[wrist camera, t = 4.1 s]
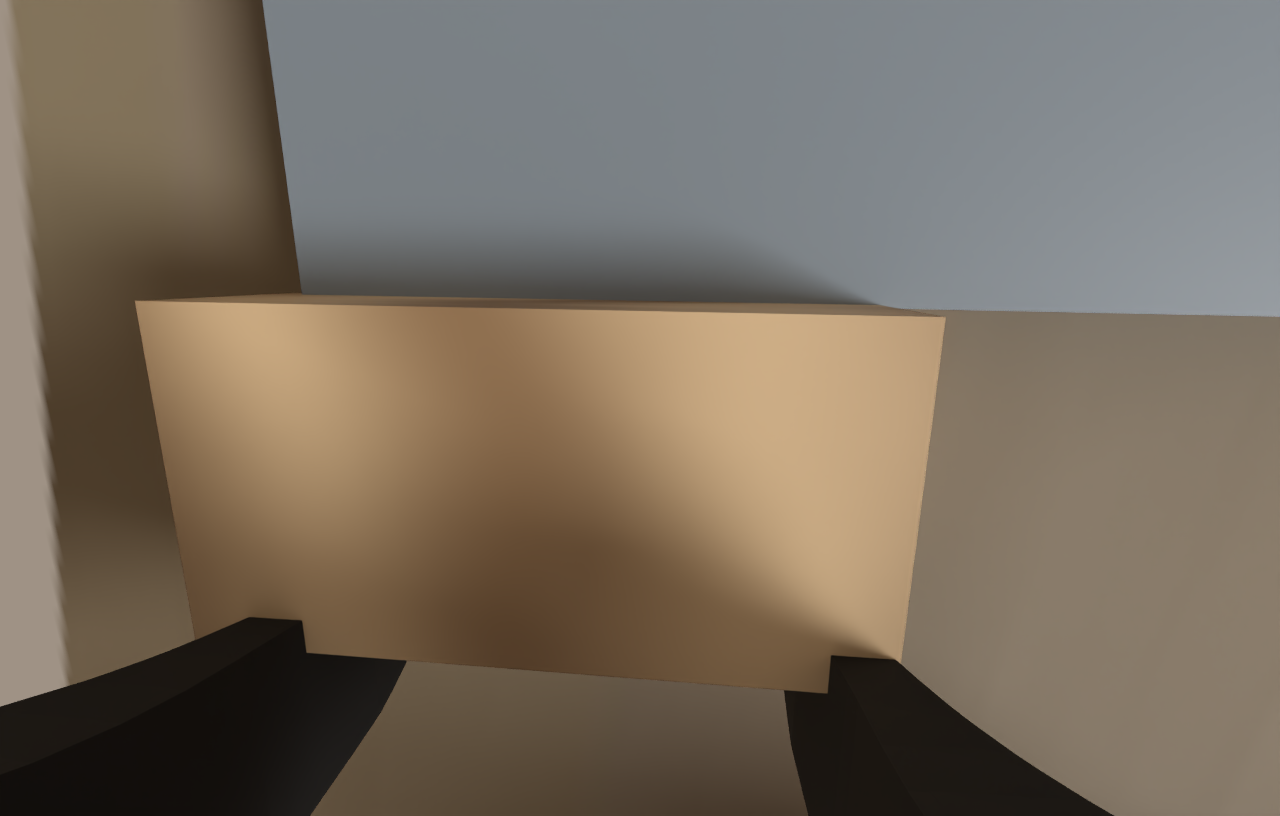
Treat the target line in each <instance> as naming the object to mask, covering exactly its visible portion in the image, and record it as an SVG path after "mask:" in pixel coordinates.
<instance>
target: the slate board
mask: <svg viewBox="0 0 1280 816" xmlns="http://www.w3.org/2000/svg"><path fill="white" fill-rule="evenodd" d="M262 1H263V9H264V16H265V24H266V31H267V39H268V46H269V53H270V61H271V68H272V76H273V83H274V90H275V98H276V105H277V113H278V120H279V128H280V135H281V142H282V150H283V157H284V165H285V172H286V180H287V187H288V194H289V202H290V209H291V217H292V224H293V231H294V239H295V246H296V254H297V261H298V269H299V276H300V283H301V291H302V295H351V296H406V297H461V298H516V299H571V300H626V301H681V302H736V303H790V304H845V305H882V306H888V307H893V308H899V309H938V310H987V311H1035V312H1084V313H1132V314H1181V315H1229V316H1278V317H1280V0H262Z"/></svg>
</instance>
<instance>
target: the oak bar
mask: <svg viewBox="0 0 1280 816" xmlns="http://www.w3.org/2000/svg"><path fill="white" fill-rule="evenodd" d="M135 304H136V310H137V316H138V321H139V327H140V332H141V338H142V344H143V349H144V355H145V360H146V366H147V372H148V377H149V383H150V388H151V394H152V400H153V405H154V411H155V416H156V422H157V427H158V433H159V439H160V444H161V450H162V455H163V461H164V467H165V472H166V478H167V483H168V489H169V495H170V500H171V506H172V511H173V517H174V522H175V528H176V534H177V539H178V545H179V550H180V556H181V562H182V567H183V573H184V578H185V584H186V590H187V595H188V601H189V606H190V612H191V617H192V623H193V629H194V634H195V640H197V639H199V638H201V637H204V636H206V635H208V634H211V633H213V632H215V631H218V630H220V629H222V628H225V627H227V626H229V625H232V624H234V623H236V622H239V621H241V620H243V619H246V618H248V617H258V618H273V619H289V620H302V623H303V630H304V637H305V644H306V652H307V653H317V654H330V655H342V656H355V657H368V658H381V659H393V660H406V661H419V662H432V663H444V664H457V665H470V666H483V667H495V668H508V669H521V670H534V671H546V672H559V673H572V674H585V675H598V676H610V677H623V678H636V679H649V680H661V681H674V682H687V683H700V684H712V685H725V686H738V687H751V688H763V689H776V690H789V691H802V692H814V693H827V694H828V682H829V671H830V660H831V655H835V656H850V657H865V658H880V659H895V660H897V661H898V662H899V663H900V664H901V658H902V650H903V643H904V635H905V627H906V620H907V612H908V604H909V596H910V589H911V581H912V573H913V566H914V558H915V550H916V543H917V535H918V527H919V520H920V512H921V504H922V497H923V489H924V481H925V473H926V466H927V458H928V450H929V443H930V435H931V427H932V420H933V412H934V404H935V397H936V389H937V381H938V374H939V366H940V358H941V350H942V343H943V335H944V327H945V320H946V317H942V316H937V315H931V314H926V313H920V312H915V311H910V310H904V309H899V308H893V307H888V306H882V305H845V304H790V303H736V302H681V301H626V300H571V299H516V298H461V297H406V296H351V295H302V292H301V293H281V294H262V295H242V296H223V297H203V298H183V299H164V300H144V301H135Z"/></svg>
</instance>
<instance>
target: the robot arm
mask: <svg viewBox="0 0 1280 816" xmlns="http://www.w3.org/2000/svg"><path fill="white" fill-rule="evenodd" d="M405 664H406V660H393V659H381V658H368V657H355V656H342V655H330V654H317V653H307V652H306V644H305V637H304V630H303V623H302V620H289V619H273V618H258V617H248V618H246V619H243V620H241V621H239V622H236V623H234V624H232V625H229V626H227V627H225V628H222V629H220V630H218V631H215V632H213V633H211V634H208V635H206V636H204V637H201V638H199V639H197V640H194V641H192V642H190V643H187V644H185V645H182V646H180V647H177V648H175V649H172V650H170V651H167V652H165V653H162V654H159V655H157V656H154V657H152V658H149V659H146V660H144V661H141V662H138V663H135V664H132V665H130V666H127V667H124V668H121V669H118V670H115V671H113V672H110V673H107V674H104V675H101V676H98V677H95V678H92V679H89V680H86V681H83V682H80V683H77V684H73V685H70V686H67V687H64V688H60V689H57V690H54V691H51V692H47V693H44V694H41V695H37V696H34V697H31V698H27V699H24V700H21V701H17V702H14V703H11V704H8V705H4V706H1V707H0V816H310V815H311V813H312V812H313V811H314V809H315V808H316V806H317V805H318V803H319V802H320V800H321V799H322V798H323V796H324V795H325V793H326V792H327V790H328V789H329V787H330V786H331V785H332V783H333V782H334V780H335V779H336V777H337V776H338V774H339V773H340V772H341V770H342V769H343V767H344V766H345V764H346V763H347V761H348V760H349V759H350V757H351V756H352V754H353V753H354V751H355V750H356V748H357V747H358V745H359V744H360V743H361V741H362V740H363V738H364V737H365V735H366V734H367V732H368V731H369V729H370V728H371V726H372V725H373V723H374V722H375V720H376V719H377V717H378V716H379V714H380V713H381V711H382V709H383V707H384V705H385V703H386V702H387V700H388V698H389V696H390V694H391V692H392V690H393V688H394V686H395V684H396V682H397V680H398V678H399V676H400V674H401V672H402V670H403V668H404V666H405ZM784 694H785V702H786V710H787V718H788V725H789V733H790V740H791V746H792V750H793V755H794V759H795V763H796V767H797V771H798V775H799V779H800V783H801V787H802V791H803V795H804V799H805V803H806V807H807V811H808V815H809V816H1114V815H1112V814H1110V813H1108V812H1107V811H1105V810H1103V809H1102V808H1100V807H1098V806H1096V805H1095V804H1093V803H1091V802H1090V801H1088V800H1086V799H1085V798H1083V797H1082V796H1080V795H1078V794H1077V793H1075V792H1074V791H1072V790H1070V789H1069V788H1067V787H1066V786H1064V785H1062V784H1061V783H1059V782H1058V781H1056V780H1054V779H1053V778H1051V777H1050V776H1048V775H1046V774H1045V773H1043V772H1042V771H1040V770H1038V769H1037V768H1035V767H1034V766H1032V765H1031V764H1029V763H1028V762H1026V761H1025V760H1023V759H1022V758H1020V757H1019V756H1017V755H1016V754H1014V753H1013V752H1011V751H1010V750H1009V749H1007V748H1006V747H1004V746H1003V745H1002V744H1000V743H999V742H998V741H996V740H995V739H993V738H992V737H991V736H989V735H988V734H986V733H985V732H984V731H982V730H981V729H980V728H978V727H977V726H975V725H974V724H973V723H971V722H970V721H969V720H967V719H966V718H965V717H963V716H962V715H961V714H959V713H958V712H957V711H956V710H954V709H953V708H952V707H951V706H949V705H948V704H947V703H946V702H944V701H943V700H942V699H941V698H940V697H938V696H937V695H936V694H935V693H934V692H932V691H931V690H930V689H929V688H928V687H926V686H925V685H924V684H923V683H922V682H920V681H919V680H918V679H917V678H916V677H915V676H914V675H912V674H911V673H910V672H909V671H908V670H907V669H906V668H905V667H903V666H902V665H901V664H900V663H899V662H898V661H897V660H895V659H880V658H865V657H850V656H835V655H831V660H830V671H829V682H828V694H827V693H814V692H802V691H789V690H784Z"/></svg>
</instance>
